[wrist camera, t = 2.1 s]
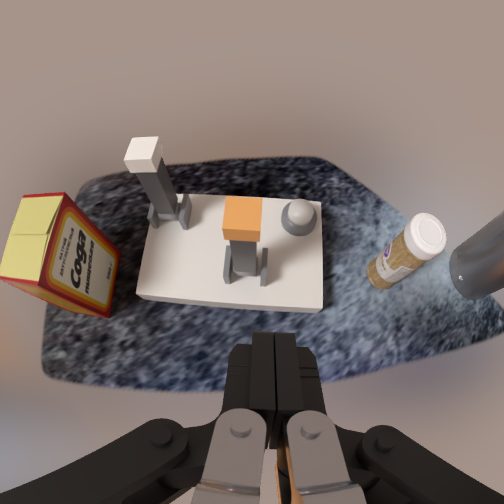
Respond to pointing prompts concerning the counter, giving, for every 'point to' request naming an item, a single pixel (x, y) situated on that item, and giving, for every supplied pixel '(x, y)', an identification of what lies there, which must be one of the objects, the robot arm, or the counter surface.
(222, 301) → the switch panel
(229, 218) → the lever orange
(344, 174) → the counter surface
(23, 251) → the baking soda box
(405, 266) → the sprinkles bottle
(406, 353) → the counter surface
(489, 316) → the counter surface
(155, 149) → the lever white
